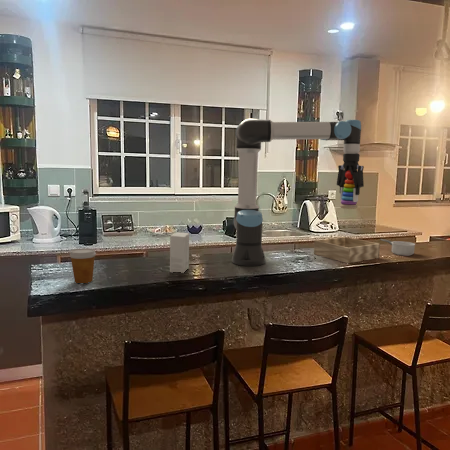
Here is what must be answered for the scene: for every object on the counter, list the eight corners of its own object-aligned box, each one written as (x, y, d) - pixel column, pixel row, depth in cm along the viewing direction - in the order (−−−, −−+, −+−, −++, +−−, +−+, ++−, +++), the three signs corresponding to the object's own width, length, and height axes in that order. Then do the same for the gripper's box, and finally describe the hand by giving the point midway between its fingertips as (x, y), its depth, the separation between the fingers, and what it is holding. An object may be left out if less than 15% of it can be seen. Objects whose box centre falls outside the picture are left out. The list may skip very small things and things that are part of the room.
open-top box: (347, 263, 200) (348, 248, 199) (313, 254, 219) (314, 240, 218) (379, 257, 212) (380, 243, 211) (344, 249, 231) (345, 236, 230)
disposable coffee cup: (100, 278, 169) (99, 248, 167) (91, 285, 160) (90, 253, 158) (76, 278, 170) (75, 247, 168) (66, 284, 160) (64, 252, 158)
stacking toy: (359, 209, 208) (361, 169, 205) (342, 209, 208) (344, 169, 205) (354, 207, 216) (356, 169, 213) (338, 207, 216) (340, 169, 213)
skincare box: (175, 267, 188) (175, 232, 185) (190, 268, 187) (190, 232, 184) (169, 272, 180) (169, 235, 177) (184, 273, 178) (184, 236, 176)
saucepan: (387, 248, 238) (388, 237, 237) (419, 255, 221) (420, 244, 220) (372, 249, 232) (373, 239, 231) (404, 257, 215) (405, 246, 214)
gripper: (374, 153, 201) (371, 202, 205) (340, 153, 218) (338, 199, 222) (363, 152, 197) (360, 203, 201) (330, 153, 214) (328, 199, 218)
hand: (348, 201), depth 211 cm, fingers closed on stacking toy, 7 cm apart
